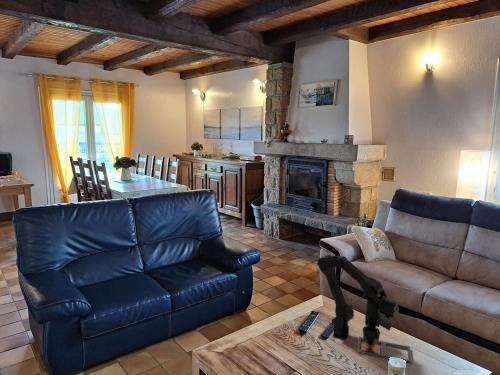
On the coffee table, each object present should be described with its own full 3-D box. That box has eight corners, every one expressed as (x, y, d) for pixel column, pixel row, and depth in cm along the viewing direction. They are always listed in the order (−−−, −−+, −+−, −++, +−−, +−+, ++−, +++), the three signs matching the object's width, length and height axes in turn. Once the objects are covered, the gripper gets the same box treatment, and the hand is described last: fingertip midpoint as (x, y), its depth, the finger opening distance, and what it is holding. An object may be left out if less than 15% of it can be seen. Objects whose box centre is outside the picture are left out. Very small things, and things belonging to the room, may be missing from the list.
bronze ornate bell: (380, 352, 156) (381, 335, 155) (362, 350, 157) (363, 333, 156) (377, 342, 163) (378, 326, 162) (361, 340, 165) (362, 324, 163)
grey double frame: (356, 352, 157) (357, 350, 157) (358, 338, 167) (358, 336, 167) (411, 364, 149) (411, 361, 149) (409, 348, 160) (409, 346, 159)
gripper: (392, 323, 146) (390, 358, 148) (391, 303, 163) (389, 334, 166) (364, 318, 150) (362, 352, 152) (366, 299, 167) (364, 329, 170)
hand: (370, 341), depth 160 cm, fingers closed on bronze ornate bell, 6 cm apart
